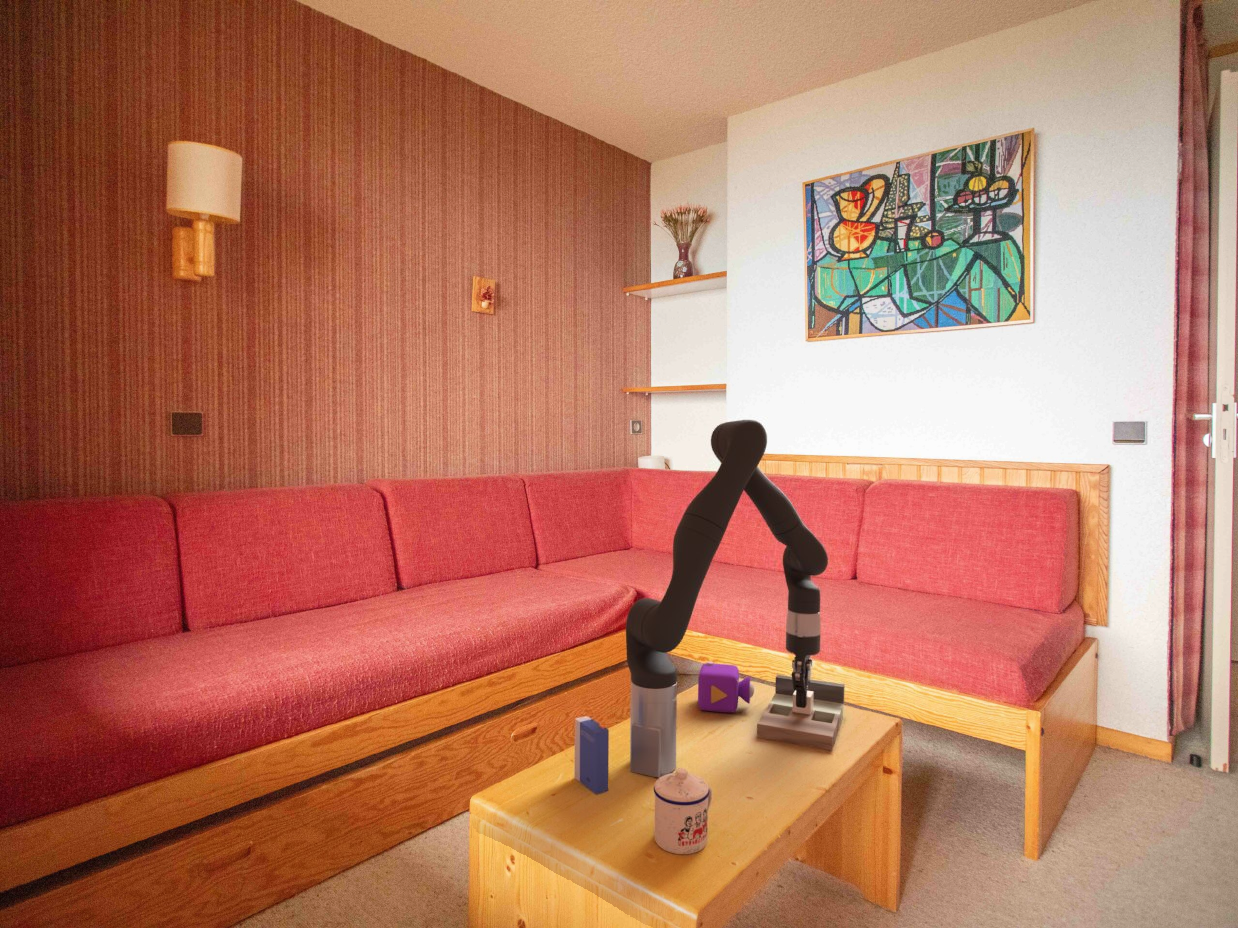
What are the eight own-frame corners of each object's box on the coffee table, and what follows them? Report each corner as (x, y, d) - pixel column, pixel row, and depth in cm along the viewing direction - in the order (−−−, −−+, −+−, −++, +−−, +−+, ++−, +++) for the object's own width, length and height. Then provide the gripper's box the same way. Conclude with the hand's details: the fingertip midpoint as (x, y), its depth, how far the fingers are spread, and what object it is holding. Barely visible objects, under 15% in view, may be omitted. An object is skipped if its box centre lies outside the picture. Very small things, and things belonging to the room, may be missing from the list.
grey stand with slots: (832, 750, 149) (832, 717, 148) (756, 736, 155) (757, 705, 155) (843, 712, 169) (844, 684, 169) (776, 702, 175) (777, 674, 175)
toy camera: (756, 716, 167) (757, 674, 166) (699, 715, 167) (699, 673, 167) (749, 698, 178) (750, 659, 177) (695, 697, 178) (695, 658, 178)
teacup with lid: (683, 863, 109) (683, 790, 109) (641, 838, 116) (642, 769, 115) (731, 833, 118) (732, 765, 117) (689, 812, 124) (690, 747, 124)
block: (810, 714, 160) (810, 697, 160) (792, 711, 162) (792, 694, 162) (813, 708, 164) (813, 691, 164) (795, 705, 166) (796, 688, 165)
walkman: (608, 790, 131) (608, 727, 131) (595, 794, 130) (596, 730, 129) (586, 773, 138) (586, 713, 137) (574, 777, 136) (574, 716, 136)
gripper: (791, 621, 166) (789, 694, 167) (780, 635, 154) (778, 713, 155) (824, 625, 163) (822, 699, 164) (815, 639, 151) (813, 719, 152)
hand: (801, 706), depth 159 cm, fingers closed
